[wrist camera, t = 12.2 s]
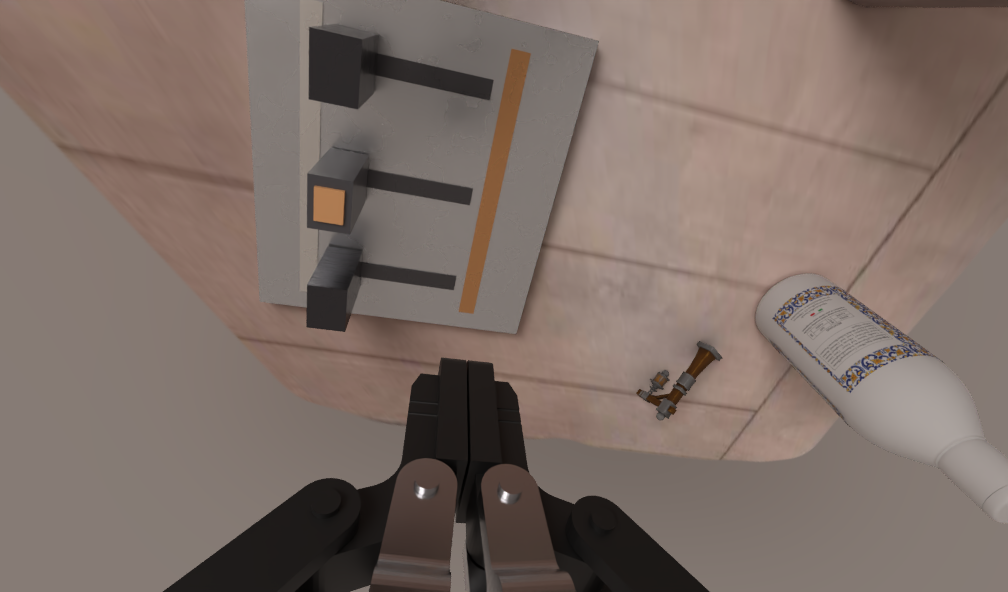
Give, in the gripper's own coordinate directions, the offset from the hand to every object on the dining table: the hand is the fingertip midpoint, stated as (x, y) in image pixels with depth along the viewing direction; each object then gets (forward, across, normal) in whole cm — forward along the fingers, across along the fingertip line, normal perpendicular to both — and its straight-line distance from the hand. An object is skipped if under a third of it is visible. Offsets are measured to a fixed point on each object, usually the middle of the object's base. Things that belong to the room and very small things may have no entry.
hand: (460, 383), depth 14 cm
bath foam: (+23, -31, +7) cm, 39 cm away
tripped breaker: (+21, +7, +1) cm, 22 cm away
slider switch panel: (+22, +3, +2) cm, 22 cm away
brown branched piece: (+23, -23, +15) cm, 36 cm away
